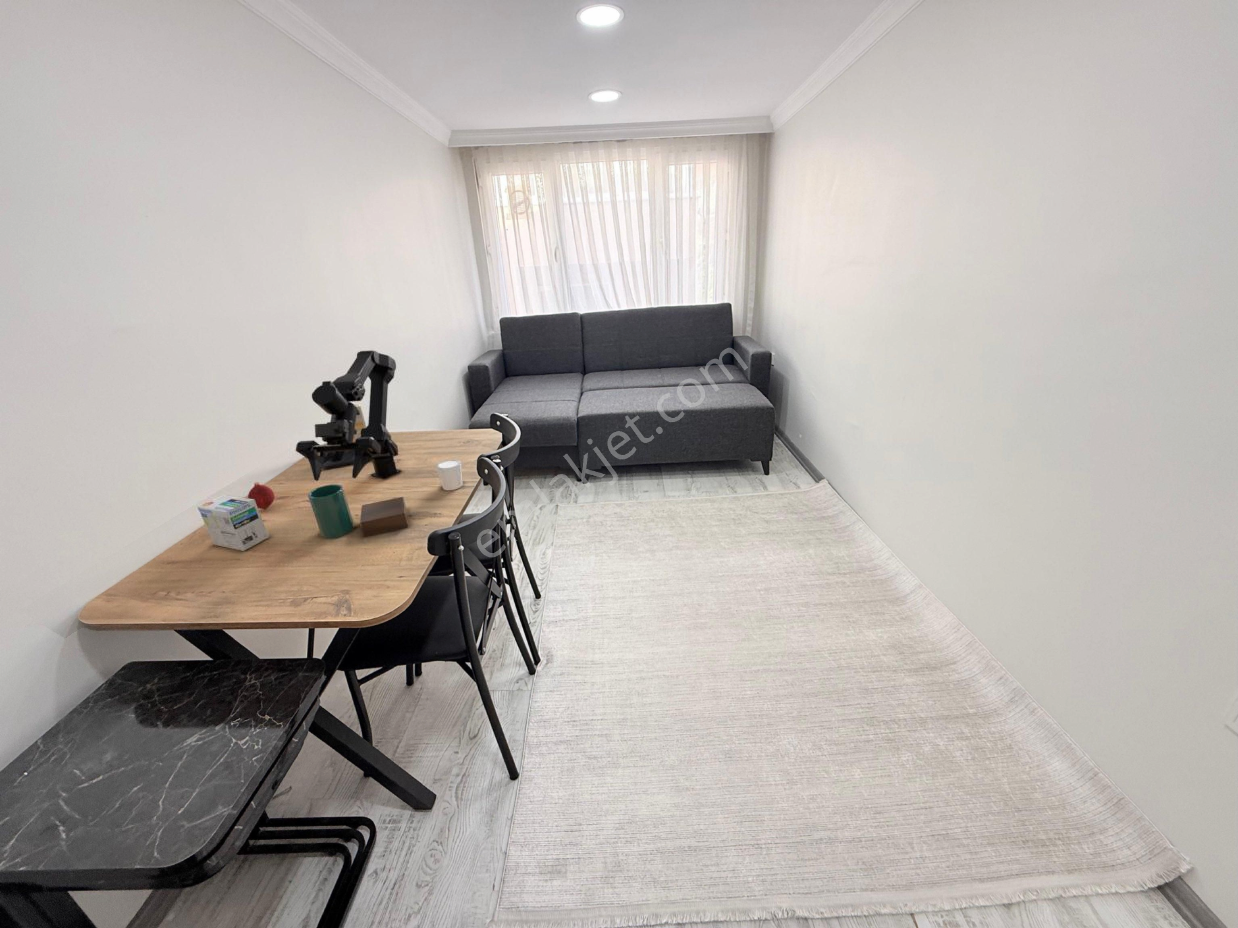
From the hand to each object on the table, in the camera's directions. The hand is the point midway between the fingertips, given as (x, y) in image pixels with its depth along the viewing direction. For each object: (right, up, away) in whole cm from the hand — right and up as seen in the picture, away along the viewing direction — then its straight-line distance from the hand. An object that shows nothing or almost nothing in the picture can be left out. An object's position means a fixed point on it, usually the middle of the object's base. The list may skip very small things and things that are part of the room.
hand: (335, 479), depth 123 cm
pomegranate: (-26, -9, +12) cm, 30 cm away
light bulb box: (-21, -15, -3) cm, 26 cm away
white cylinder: (+22, -3, +21) cm, 31 cm away
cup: (+1, -13, 0) cm, 13 cm away
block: (+12, -11, +2) cm, 16 cm away
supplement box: (-27, +12, +61) cm, 68 cm away
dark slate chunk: (-18, +6, +45) cm, 49 cm away
